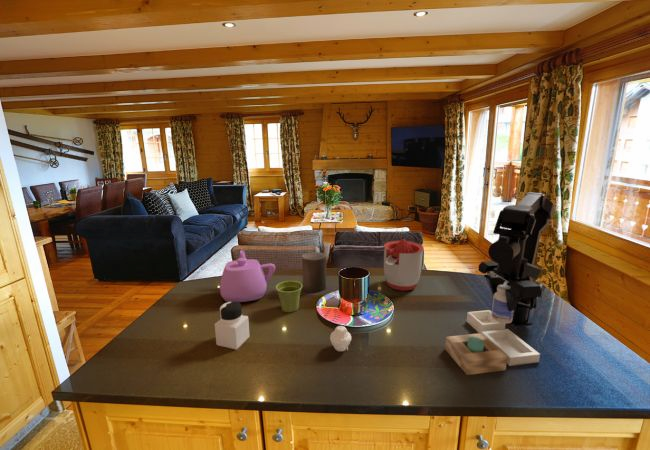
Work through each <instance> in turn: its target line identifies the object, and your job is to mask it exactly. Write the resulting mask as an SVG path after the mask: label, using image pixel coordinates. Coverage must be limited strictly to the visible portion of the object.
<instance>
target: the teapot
mask: <svg viewBox="0 0 650 450" xmlns="http://www.w3.org/2000/svg"><path fill="white" fill-rule="evenodd" d="M223 268H224V269H223V271H222V274H221V278H220V284H219V285H220V286H219V293H220V296H221V298H222V299H223V300H224V302H226V303H227V302H238V303H242V302H243V303H245V302H251V301H256V300H259V299H262V298H263V297H264V296H265V294H266V292H267V288H268V287H267V286H268V285H267V283H268V282H269V280H270V279H271V277H272V276H273V275H274V273H275V270H276V265H275V264H274V263H271V262H270V263H264V264H263V263H262V264H260V262H259V260H257V259H253V258H252V259H251V258H250V259H249V258H248V259H247V257H246V253H245V250H243V249H241V250H240V251H239V257H238V258H237V259H236V260H230V261H228V262H227V263H225V266H224V267H223ZM263 269H269V270H268V273H267V275H265V272H264V270H263Z"/></svg>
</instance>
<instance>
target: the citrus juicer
mask: <svg viewBox="0 0 650 450" xmlns="http://www.w3.org/2000/svg"><path fill="white" fill-rule="evenodd" d="M383 248H384V249H383V251H384V252H383V274H384V278H385V282H386V284H387V286H388V287H389V288H391V289H394V290H397V291H402V292H406V291H411V290H414V289H415V288H416V287H417V286H418V283H419V280H420V277H421V274H422V273H421V272H422V266H423V253H424V252H423V251H424V246H423V245H422V244H420V243H417V242H415V241H408V240H407V239H404V238H403V239H401V240H393V241H387V242H386V243H384V245H383Z"/></svg>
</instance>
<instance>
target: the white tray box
mask: <svg viewBox="0 0 650 450" xmlns="http://www.w3.org/2000/svg"><path fill="white" fill-rule="evenodd" d="M491 314H492V310H490V309H486V310H476V311H468V312H467V315H466V323H467V324H469V326H471V327H472V328H473V329H474V330H475V331H476V332H477V333H481V332H484V331H493V330H502V329H506V325H507V323H500V322H497V321H495V320H494V319H493V318H492V317H491Z"/></svg>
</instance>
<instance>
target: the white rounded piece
mask: <svg viewBox="0 0 650 450" xmlns="http://www.w3.org/2000/svg"><path fill="white" fill-rule="evenodd" d="M329 340H330V342H331V344H332V346H333V348H334V350H335V351H337V352H344V351H346V350H347V348H348V347H349V345H350V344H351V341H352V334H351V333H350V332H349V331H348V329H347V328H346V327H345V326H343V325H337V326H336V327H335V328H334V331H332V332H331V334H330V335H329Z"/></svg>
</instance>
